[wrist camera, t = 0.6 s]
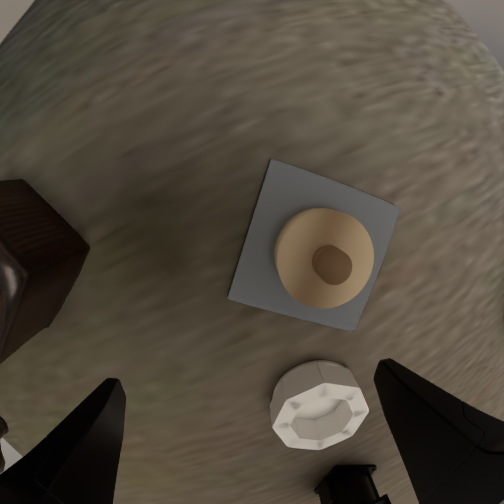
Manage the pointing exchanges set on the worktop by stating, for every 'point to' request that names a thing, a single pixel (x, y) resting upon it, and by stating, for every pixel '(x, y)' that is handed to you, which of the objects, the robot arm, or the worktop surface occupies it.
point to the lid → (323, 257)
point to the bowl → (317, 405)
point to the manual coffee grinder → (32, 267)
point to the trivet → (272, 220)
